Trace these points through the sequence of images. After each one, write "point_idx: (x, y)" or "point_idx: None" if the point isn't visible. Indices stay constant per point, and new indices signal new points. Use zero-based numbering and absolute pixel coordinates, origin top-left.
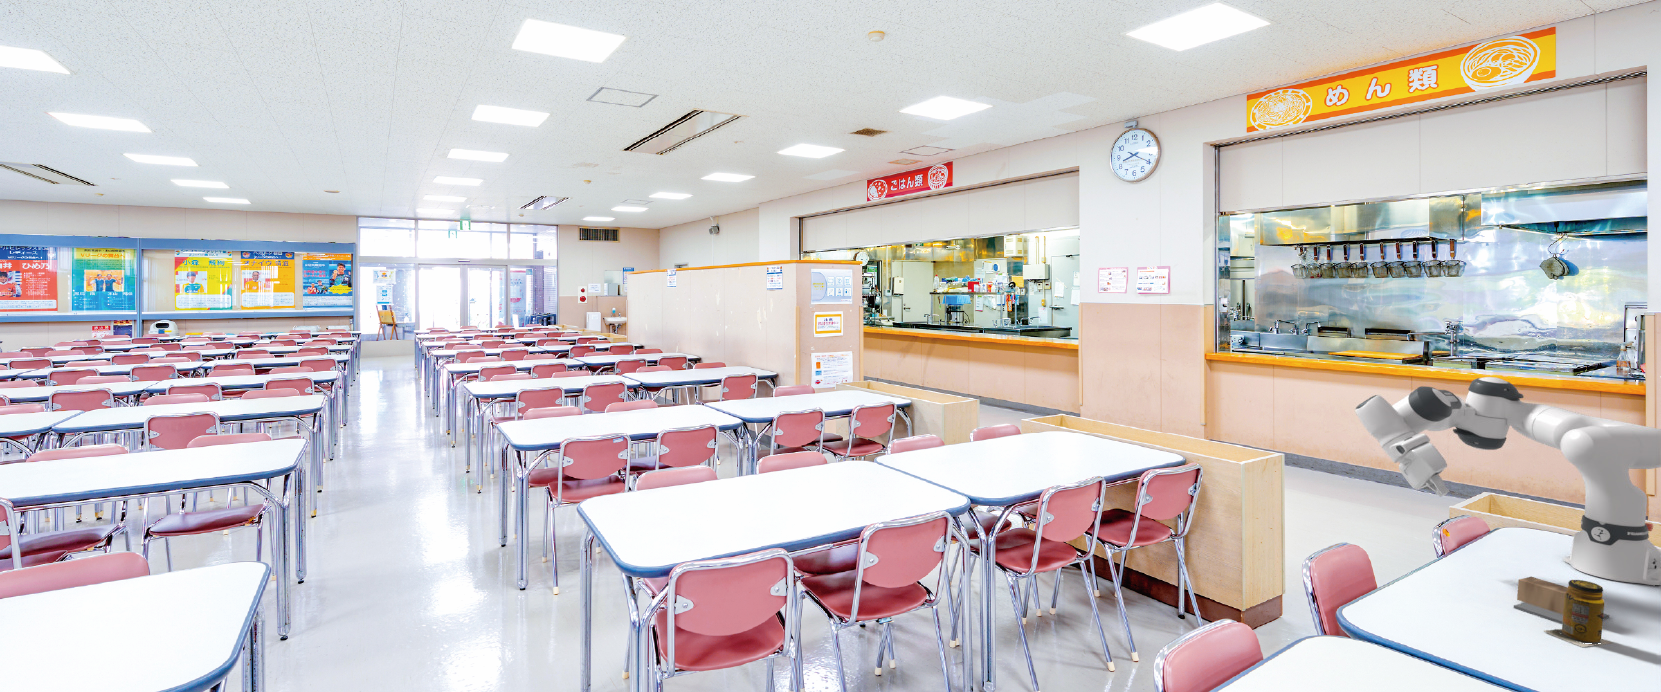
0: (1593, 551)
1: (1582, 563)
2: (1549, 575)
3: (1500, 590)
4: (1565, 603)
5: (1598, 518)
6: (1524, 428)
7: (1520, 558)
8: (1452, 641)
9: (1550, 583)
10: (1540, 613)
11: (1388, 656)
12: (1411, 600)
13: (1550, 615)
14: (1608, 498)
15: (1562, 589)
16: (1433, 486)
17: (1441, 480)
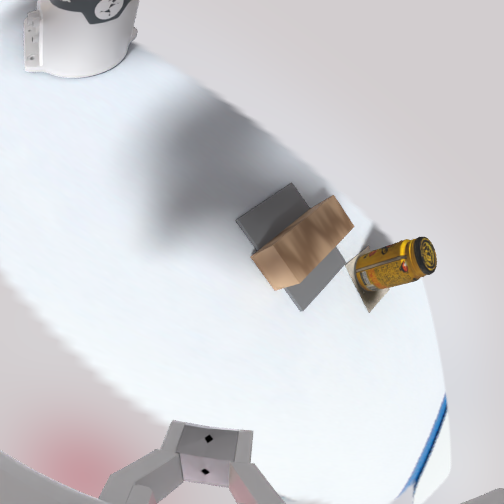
0: (94, 39)
1: (77, 65)
2: (97, 134)
3: (215, 288)
4: (403, 283)
5: None
6: None
7: (5, 128)
8: (409, 421)
9: (300, 232)
10: (322, 285)
11: (432, 466)
12: (317, 458)
13: (324, 273)
14: None
15: (323, 232)
16: (156, 494)
17: (277, 497)
